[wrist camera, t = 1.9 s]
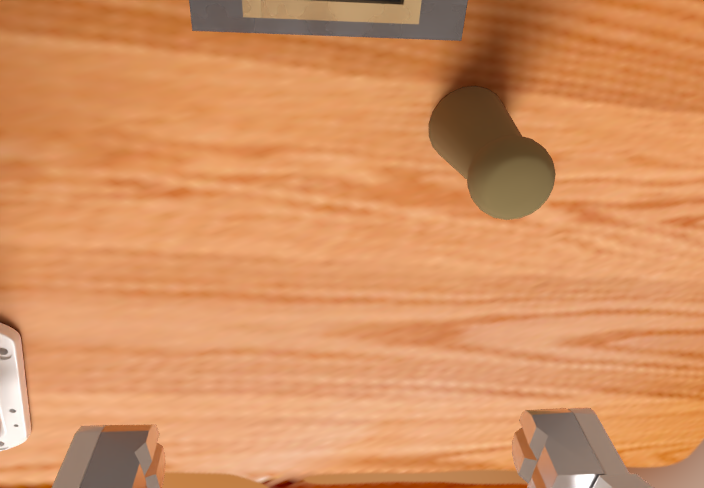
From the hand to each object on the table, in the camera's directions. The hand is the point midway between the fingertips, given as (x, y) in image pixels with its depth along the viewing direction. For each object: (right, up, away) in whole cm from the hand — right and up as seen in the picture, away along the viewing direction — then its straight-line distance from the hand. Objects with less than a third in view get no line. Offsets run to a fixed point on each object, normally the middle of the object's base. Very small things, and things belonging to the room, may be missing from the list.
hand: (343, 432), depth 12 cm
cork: (+9, +13, +28) cm, 32 cm away
